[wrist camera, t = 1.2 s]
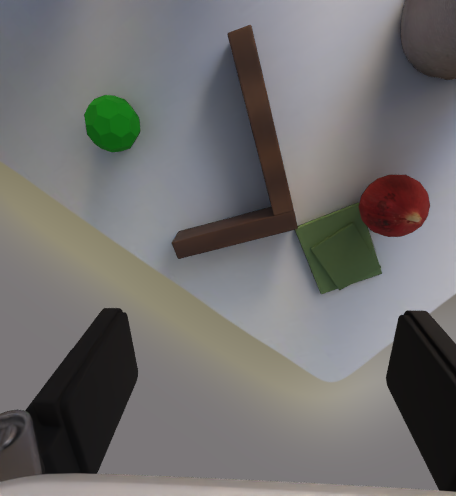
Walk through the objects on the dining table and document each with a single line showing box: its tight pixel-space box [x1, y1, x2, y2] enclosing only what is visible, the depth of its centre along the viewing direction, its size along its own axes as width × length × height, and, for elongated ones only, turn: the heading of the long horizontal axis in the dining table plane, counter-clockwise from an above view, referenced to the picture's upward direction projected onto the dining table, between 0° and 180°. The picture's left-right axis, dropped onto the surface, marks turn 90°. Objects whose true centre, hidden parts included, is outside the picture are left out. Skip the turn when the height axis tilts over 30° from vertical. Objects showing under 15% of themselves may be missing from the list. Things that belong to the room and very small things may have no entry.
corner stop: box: [172, 25, 298, 259], centre depth 31 cm, size 18×13×4 cm
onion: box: [359, 175, 430, 237], centre depth 30 cm, size 6×6×8 cm
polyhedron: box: [84, 95, 140, 152], centre depth 30 cm, size 5×5×5 cm
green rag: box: [295, 203, 382, 294], centre depth 35 cm, size 9×7×1 cm
